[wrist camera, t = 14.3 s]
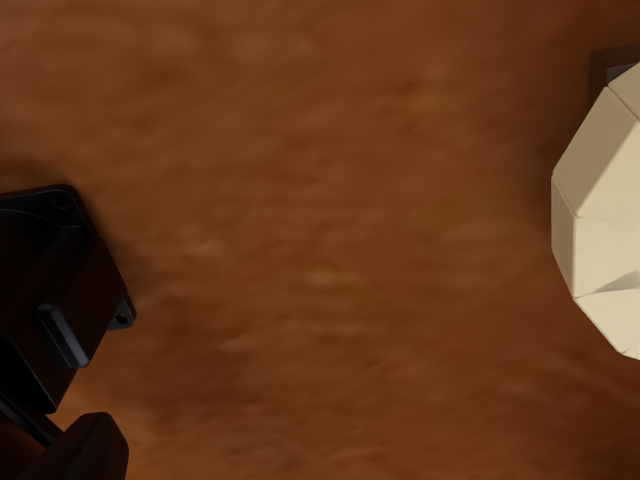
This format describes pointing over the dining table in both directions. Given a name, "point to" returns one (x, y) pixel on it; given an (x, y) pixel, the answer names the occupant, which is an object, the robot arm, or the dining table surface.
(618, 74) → the stand
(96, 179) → the dining table surface
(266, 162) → the dining table surface
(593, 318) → the tape
